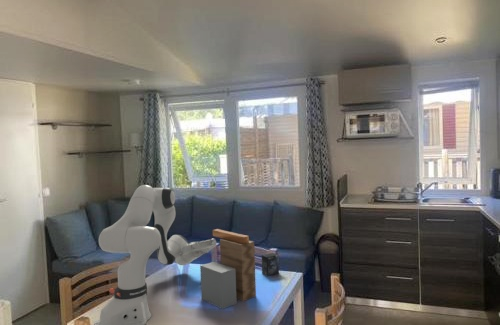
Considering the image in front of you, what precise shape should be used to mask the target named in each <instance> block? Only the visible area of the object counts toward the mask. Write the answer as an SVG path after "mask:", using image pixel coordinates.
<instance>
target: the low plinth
mask: <svg viewBox="0 0 500 325" xmlns="http://www.w3.org/2000/svg"><path fill="white" fill-rule="evenodd" d="M199 267H200V269H199V270H200V293H201V294H200V295H201V296H200V297H201V300H202V301H203V302H206V303H209V304H211V305H214V306H215V307H218V308H220V309H221V310H223V309H226V308H229V307H232V306H233V305H237V298H236V271H235V268H232V267H229V266H226V265H223V264H221V262H220V263H219V262H216V261H211V262H208V263H207V262H206V263H204V264H200V266H199Z"/></svg>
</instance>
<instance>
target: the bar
mask: <svg viewBox="0 0 500 325" xmlns="http://www.w3.org/2000/svg"><path fill="white" fill-rule="evenodd" d="M212 237H215V238H220V239H227V240H231V241H236V242H240V243H244V244H245V243H249V241H250V238H249V235H245V234H242V233H236V232H233V231H227V230H224V229H220V228H216V229H212Z"/></svg>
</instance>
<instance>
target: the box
mask: <svg viewBox="0 0 500 325" xmlns="http://www.w3.org/2000/svg"><path fill="white" fill-rule="evenodd" d="M279 256H280V255H279V254H277V253H274V252H271V253H266V254H262V255H261V274H262V275H264V274H265V276H266V275H267V277H268V276H273V275H277V273H278V274H280V271H279V270H280V268H279V266H280V264H279V261H280V260H279V258H280V257H279Z"/></svg>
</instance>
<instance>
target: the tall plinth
mask: <svg viewBox="0 0 500 325" xmlns="http://www.w3.org/2000/svg"><path fill="white" fill-rule="evenodd" d="M255 252H256V251H255V241H253V240H249V243H245V244H244V243H240V242H236V241H231V240H227V239H223V238H220V239H219V253H220V254H219V256H220V257H219V258H220V264H223V265H226V266H229V267H232V268H235V271H236V300H240V301H242V302H244V301H247V300H249V299H253V298H254V297H256V296H257V290H256V289H257V288H256V286H257V285H256V283H257V282H256V257H255V256H256V255H255V254H256V253H255Z"/></svg>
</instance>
